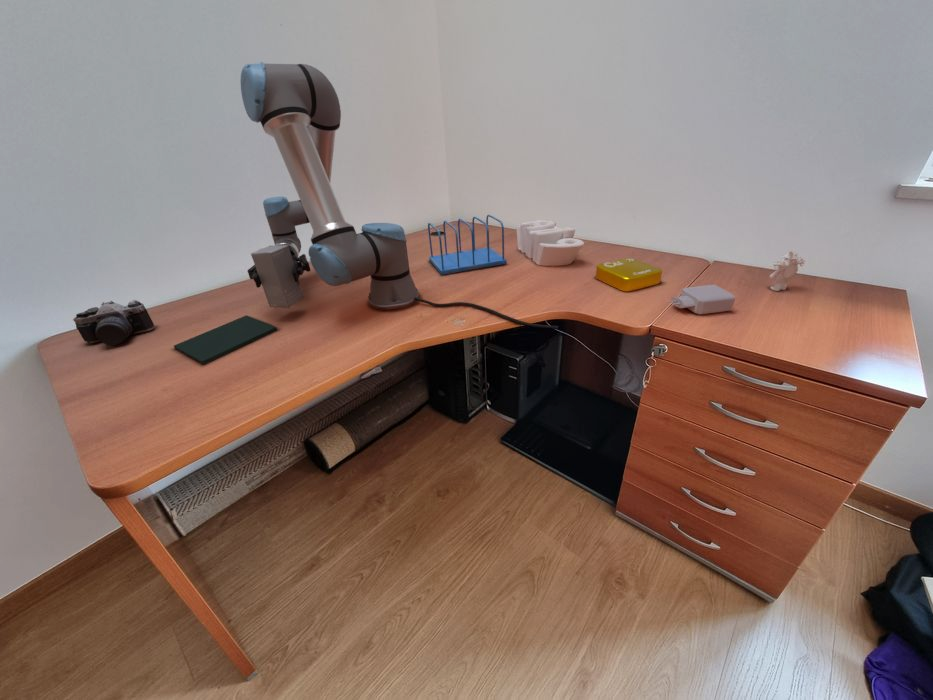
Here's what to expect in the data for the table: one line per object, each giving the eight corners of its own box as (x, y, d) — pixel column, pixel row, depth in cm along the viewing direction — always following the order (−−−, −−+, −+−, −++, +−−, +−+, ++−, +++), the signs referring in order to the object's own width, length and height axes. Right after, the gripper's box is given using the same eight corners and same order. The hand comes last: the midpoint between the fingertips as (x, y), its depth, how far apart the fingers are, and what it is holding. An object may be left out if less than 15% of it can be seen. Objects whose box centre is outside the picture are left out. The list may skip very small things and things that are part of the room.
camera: (79, 356, 102) (56, 321, 97) (90, 339, 110) (69, 306, 104) (151, 340, 108) (134, 306, 102) (157, 325, 116) (140, 293, 110)
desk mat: (277, 330, 109) (276, 326, 109) (203, 365, 95) (202, 361, 95) (247, 318, 117) (246, 315, 116) (174, 348, 103) (173, 345, 102)
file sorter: (489, 251, 159) (488, 212, 151) (507, 265, 145) (507, 222, 137) (429, 261, 153) (425, 220, 145) (441, 275, 139) (437, 231, 131)
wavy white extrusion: (511, 243, 167) (511, 218, 161) (548, 239, 169) (549, 214, 164) (542, 271, 137) (543, 241, 132) (586, 266, 140) (589, 236, 135)
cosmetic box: (289, 309, 110) (272, 253, 102) (267, 308, 112) (248, 252, 103) (305, 296, 117) (291, 243, 109) (284, 296, 119) (268, 243, 110)
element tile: (625, 293, 119) (628, 278, 117) (592, 277, 131) (594, 263, 128) (662, 283, 124) (666, 268, 122) (627, 269, 136) (630, 255, 133)
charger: (658, 304, 112) (707, 298, 113) (678, 318, 104) (730, 312, 106) (662, 288, 109) (712, 283, 111) (682, 302, 101) (736, 296, 103)
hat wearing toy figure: (771, 293, 114) (787, 252, 108) (760, 288, 117) (774, 248, 111) (797, 289, 116) (814, 248, 109) (785, 284, 119) (801, 245, 113)
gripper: (323, 262, 129) (321, 286, 110) (252, 271, 124) (237, 299, 106) (317, 239, 125) (314, 260, 106) (243, 248, 121) (227, 272, 102)
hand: (276, 279), depth 106 cm, fingers closed on cosmetic box, 9 cm apart
